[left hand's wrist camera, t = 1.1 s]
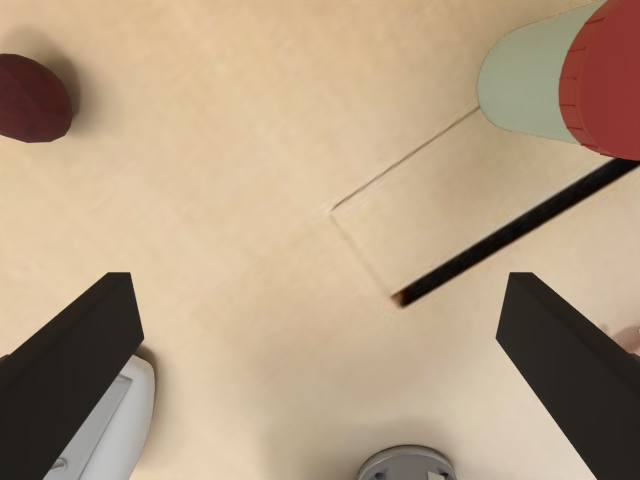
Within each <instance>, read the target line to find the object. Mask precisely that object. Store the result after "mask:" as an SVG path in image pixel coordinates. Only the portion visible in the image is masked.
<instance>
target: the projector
mask: <svg viewBox="0 0 640 480" xmlns="http://www.w3.org/2000/svg"><path fill="white" fill-rule="evenodd" d="M154 393H155V379H154V371H153V368H152V366H151V365H150V364H149V363H148V362H147V361H145V360H143V359H140V358H139V357H137V356H135V355H132V356H131V358H130V359H129V361H128V362H127V363H126V365H125V366H124V368H123V369H122V370H121V372H120V373H119V374H118V376H117V377H116V379H115V380H114V381H113V383H112V384H111V386H110V387H109V388H108V390H107V391H106V393H105V394H104V395H103V397H102V398H101V399H100V401H99V402H98V404H97V405H96V406H95V408H94V409H93V411H92V412H91V413H90V415H89V416H88V418H87V419H86V420H85V422H84V423H83V425H82V426H81V427H80V429H79V430H78V431H77V433H76V434H75V436H74V437H73V438H72V440H71V441H70V443H69V444H68V445H67V447H66V448H65V450H64V451H63V452H62V454H61V455H60V456H59V458H58V459H57V461H56V462H55V463H54V465H53V466H52V468H51V469H50V470H49V472H48V473H47V475H46V476H45V477H44V479H43V480H129V478H130V476H131V474H132V472H133V470H134V468H135V466H136V464H137V462H138V459H139V457H140V455H141V452H142V450H143V447H144V444H145V441H146V439H147V435H148V432H149V428H150V424H151V419H152V413H153V406H154Z"/></svg>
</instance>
